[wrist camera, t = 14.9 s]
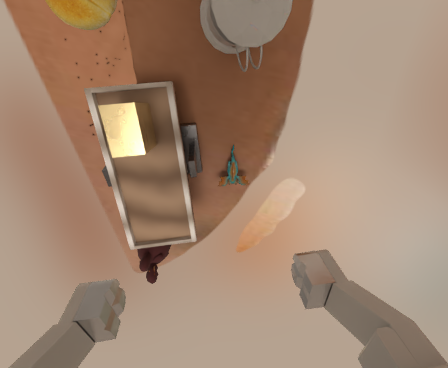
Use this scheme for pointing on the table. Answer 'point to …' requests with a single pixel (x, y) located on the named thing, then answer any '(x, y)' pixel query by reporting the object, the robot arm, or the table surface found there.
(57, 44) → the table surface
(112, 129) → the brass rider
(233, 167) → the dragon figurine
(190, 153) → the pivot stand
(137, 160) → the balance beam
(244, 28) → the french press
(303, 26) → the table surface
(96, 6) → the bread roll
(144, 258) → the icecream
